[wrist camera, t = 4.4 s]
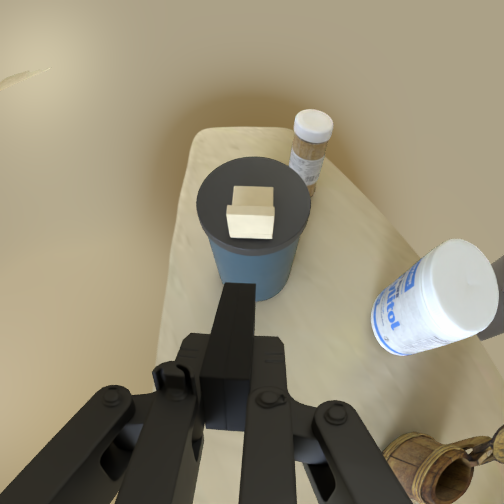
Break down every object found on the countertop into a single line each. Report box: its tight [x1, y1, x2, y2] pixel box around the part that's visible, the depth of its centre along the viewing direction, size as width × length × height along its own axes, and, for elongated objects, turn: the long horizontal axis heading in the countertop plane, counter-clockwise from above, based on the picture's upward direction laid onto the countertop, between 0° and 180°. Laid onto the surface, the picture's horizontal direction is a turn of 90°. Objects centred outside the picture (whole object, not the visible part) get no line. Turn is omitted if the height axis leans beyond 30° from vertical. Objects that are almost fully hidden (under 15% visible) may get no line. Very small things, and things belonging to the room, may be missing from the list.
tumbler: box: [196, 157, 311, 301], centre depth 32 cm, size 10×10×15 cm
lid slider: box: [226, 186, 275, 239], centre depth 22 cm, size 4×3×3 cm
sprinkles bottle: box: [289, 109, 333, 197], centre depth 38 cm, size 5×5×13 cm
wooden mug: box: [382, 425, 504, 504], centre depth 19 cm, size 9×14×18 cm, turn 113°
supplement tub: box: [371, 239, 499, 356], centre depth 28 cm, size 10×10×15 cm
